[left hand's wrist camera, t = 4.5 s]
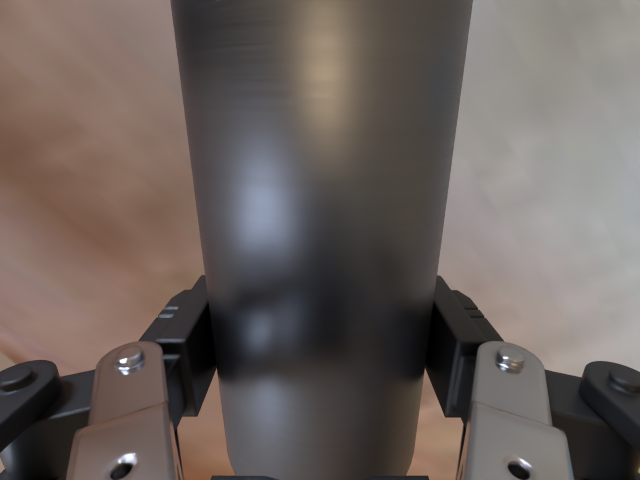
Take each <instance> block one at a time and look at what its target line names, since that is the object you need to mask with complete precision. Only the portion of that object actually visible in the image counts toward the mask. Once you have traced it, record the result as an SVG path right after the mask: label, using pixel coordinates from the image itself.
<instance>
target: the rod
mask: <svg viewBox="0 0 640 480" xmlns="http://www.w3.org/2000/svg"><path fill="white" fill-rule="evenodd" d="M472 3H473V0H171V8H172V16H173V24H174V32H175V40H176V48H177V55H178V63H179V71H180V79H181V87H182V95H183V103H184V111H185V119H186V127H187V135H188V143H189V150H190V158H191V166H192V174H193V182H194V190H195V198H196V206H197V214H198V222H199V230H200V238H201V246H202V253H203V261H204V269H205V277H206V285H207V293H208V301H209V309H210V317H211V325H212V333H213V341H214V349H215V356H216V364H217V372H218V380H219V388H220V396H221V404H222V412H223V420H224V428H225V436H226V444H227V452H228V456H229V460H230V463H231V466H232V468H233V470H234V473H235V475H236V476H268V477H271V478H275V479H279V480H361V479H365V478H369V477H372V476H406V474H407V471H408V469H409V467H410V465H411V461H412V457H413V453H414V446H415V439H416V431H417V424H418V416H419V408H420V401H421V393H422V385H423V378H424V370H425V362H426V355H427V347H428V339H429V332H430V324H431V316H432V309H433V301H434V293H435V286H436V278H437V271H438V263H439V255H440V248H441V240H442V232H443V225H444V217H445V209H446V202H447V194H448V186H449V179H450V171H451V163H452V156H453V148H454V140H455V133H456V125H457V118H458V110H459V102H460V95H461V87H462V79H463V72H464V64H465V56H466V49H467V41H468V33H469V26H470V18H471V10H472Z"/></svg>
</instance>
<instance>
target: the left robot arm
mask: <svg viewBox="0 0 640 480" xmlns="http://www.w3.org/2000/svg"><path fill="white" fill-rule="evenodd" d="M216 368H217V364H216V356H215V349H214V341H213V333H212V325H211V317H210V309H209V301H208V293H207V285H206V277H205V275H202V276H201V277H200V278H199V279H198V281H197V282H196V284H195V285H194V286H193V288H192V289H191V290H184V291H182V292H181V293H179V294H177V295H176V296H174V297H173V298H172V299H171V300H170V301H169V302H168V304H167V305H166V306H165V307H164V309H163V310H162V311H161V313H160V314H159V315H158V318H156V319H155V320H154V322H153V323H152V324H151V325H150V327H149V328H148V329H147V330H146V332H145V333H144V334H143V336H142V337H141V338H140V339H139V341H138V342H132V343H128V344H125V345H122V346H120V347H117V348H115V349H113V350H112V351H110V352H109V353H107V354H106V355H105V356H104V357H102V358H101V360H100V361H99V362H98V364H97V366H96V369H95V370H91V371H86V372H82V373H77V374H72V375H67V376H62V377H60V376H59V373H58V370H57V367H56V365H55V364H54V363H53V362H51V361H47V360H34V361H28V362H24V363H21V364H17V365H14V366H12V367H9V368H7V369H5V370H3V371H1V372H0V458H1V460H2V463H3V465H4V467H5V469H4V470H3V471H2V472H1V473H0V480H185V478H184V471H183V464H182V457H181V449H180V442H179V435H178V430H177V427H178V425H179V422H180V420H181V418H182V417H197V416H198V413H199V411H200V408H201V406H202V403H203V401H204V398H205V396H206V393H207V391H208V388H209V386H210V383H211V381H212V378H213V376H214V373H215V371H216ZM425 369H426V371H427V373H428V376H429V378H430V381H431V383H432V386H433V388H434V391H435V393H436V396H437V398H438V401H439V403H440V406H441V408H442V411H443V413H444V415H445V417H461V419H462V421H463V424H464V425H463V430H462V435H461V442H460V449H459V457H458V464H457V471H456V478H455V480H640V473H639V472H638V471H639V469H640V372H638V371H636V370H634V369H632V368H629V367H627V366H624V365H621V364H617V363H613V362H606V361H595V362H591V363H589V364H587V365H586V367H585V369H584V372H583V375H582V378H581V377H577V376H572V375H567V374H562V373H558V372H553V371H549V370H545V369H544V366H543V364H542V362H541V361H540V360H539V358H538V357H536V356H535V355H534V354H533V353H531V352H530V351H528V350H527V349H525V348H523V347H520V346H518V345H515V344H512V343H508V342H504V340H503V339H502V338H501V337H500V335H499V334H498V333H497V332H496V330H495V329H494V328H493V327H492V325H491V324H490V323H489V321H488V320H487V319H486V318H484V315H483V314H482V313H481V311H480V310H478V308H477V306H476V305H475V304H474V303H473V301H472V300H471V299H470V298H469V297H467V296H466V295H464V294H462V293H461V292H459V291H458V290H451V289H450V288H449V287H448V285H447V284H446V283H445V281H444V280H443V278H442V277H441V276H439V275H437V278H436V286H435V293H434V301H433V309H432V316H431V324H430V332H429V339H428V347H427V355H426V362H425ZM211 480H279V479H275V478H271V477H268V476H212V478H211ZM361 480H429V478H428V476H372V477H369V478H365V479H361Z"/></svg>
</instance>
